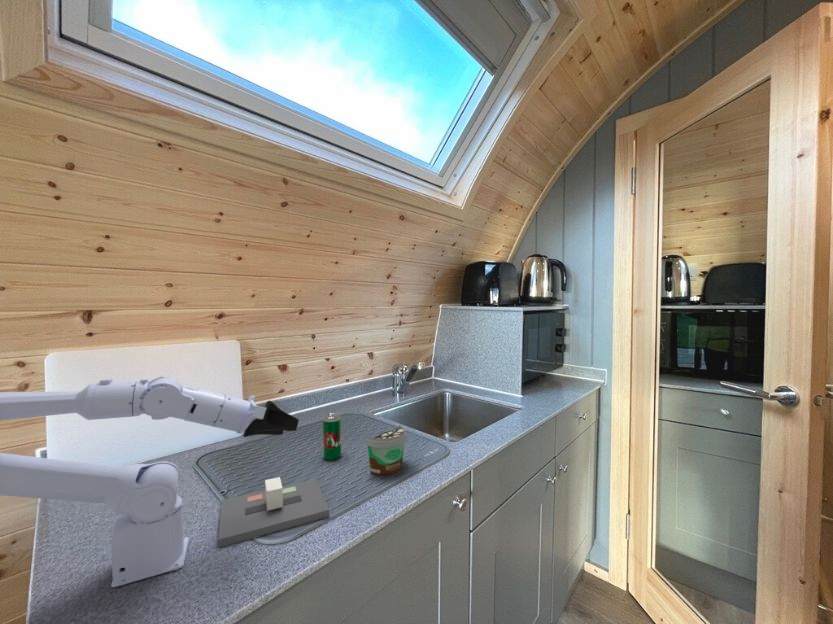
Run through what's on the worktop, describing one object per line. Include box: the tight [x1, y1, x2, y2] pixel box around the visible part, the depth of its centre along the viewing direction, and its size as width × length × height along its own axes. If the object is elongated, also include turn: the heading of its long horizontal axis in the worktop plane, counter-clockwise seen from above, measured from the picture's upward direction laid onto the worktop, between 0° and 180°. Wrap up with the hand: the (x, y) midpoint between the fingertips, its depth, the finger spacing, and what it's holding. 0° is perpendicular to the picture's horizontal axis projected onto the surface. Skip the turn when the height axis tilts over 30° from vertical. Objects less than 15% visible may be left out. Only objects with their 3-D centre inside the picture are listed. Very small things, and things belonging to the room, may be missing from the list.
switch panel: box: [217, 478, 330, 548], centre depth 75 cm, size 20×14×2 cm
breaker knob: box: [264, 476, 283, 511], centre depth 75 cm, size 3×5×4 cm, turn 27°
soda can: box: [322, 412, 342, 461], centre depth 100 cm, size 5×5×12 cm
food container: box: [365, 424, 408, 477], centre depth 92 cm, size 12×6×10 cm, turn 137°
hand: (290, 427), depth 71 cm, fingers open, 7 cm apart
